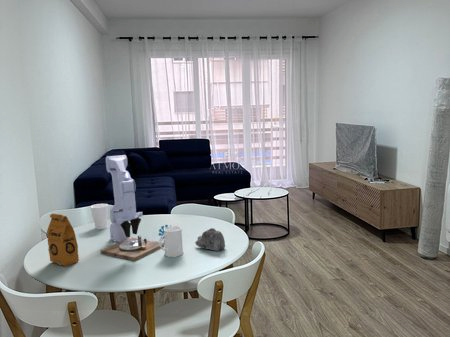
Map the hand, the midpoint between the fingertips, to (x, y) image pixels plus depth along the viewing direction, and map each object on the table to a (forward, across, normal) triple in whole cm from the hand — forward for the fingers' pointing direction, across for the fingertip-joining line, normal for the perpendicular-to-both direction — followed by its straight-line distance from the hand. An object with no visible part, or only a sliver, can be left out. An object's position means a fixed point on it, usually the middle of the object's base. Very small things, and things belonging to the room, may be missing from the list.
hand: (131, 235), depth 180 cm
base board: (+9, +5, +5) cm, 12 cm away
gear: (+10, +23, -3) cm, 25 cm away
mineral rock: (+10, +23, -28) cm, 38 cm away
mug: (+10, +8, -16) cm, 20 cm away
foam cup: (+10, +24, +48) cm, 55 cm away
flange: (+8, +5, +4) cm, 10 cm away
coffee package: (+10, -20, +22) cm, 31 cm away
